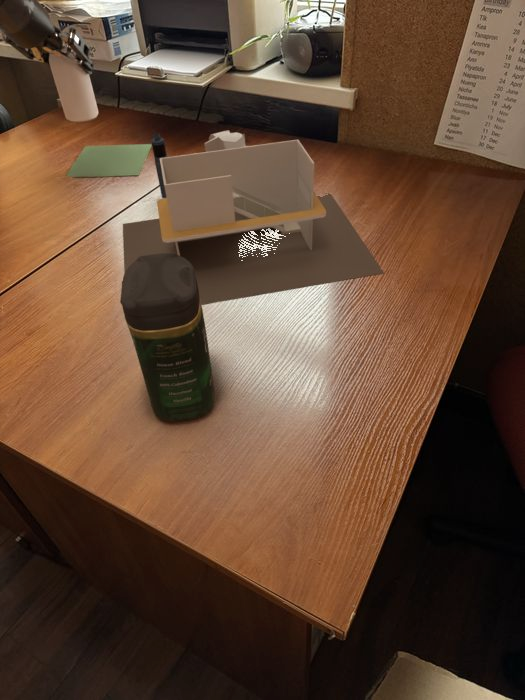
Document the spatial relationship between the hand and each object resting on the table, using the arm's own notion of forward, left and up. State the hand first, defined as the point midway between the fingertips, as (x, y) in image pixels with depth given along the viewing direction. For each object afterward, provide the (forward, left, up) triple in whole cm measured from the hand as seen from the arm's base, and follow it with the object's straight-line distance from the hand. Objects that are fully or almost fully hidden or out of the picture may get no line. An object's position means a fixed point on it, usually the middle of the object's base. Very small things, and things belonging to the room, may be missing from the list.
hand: (74, 68), depth 96 cm
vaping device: (+22, -5, -20) cm, 30 cm away
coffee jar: (+52, -47, -20) cm, 72 cm away
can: (0, -2, -9) cm, 9 cm away
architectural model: (+43, -15, -20) cm, 49 cm away
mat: (-1, +4, -20) cm, 21 cm away
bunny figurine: (+24, +15, -20) cm, 35 cm away
